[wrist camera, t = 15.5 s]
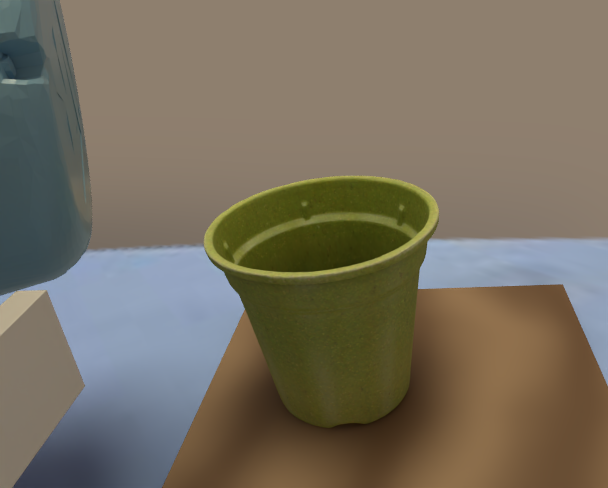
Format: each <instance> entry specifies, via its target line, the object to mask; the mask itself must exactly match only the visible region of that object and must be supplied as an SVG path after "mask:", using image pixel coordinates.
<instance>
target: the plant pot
mask: <svg viewBox="0 0 608 488" xmlns="http://www.w3.org/2000/svg"><path fill="white" fill-rule="evenodd" d="M438 220H439V209H438V206H437V203H436V201H435V200H434V198H433V197H432V196H431V195H430V194H428V193H427V192H426V191H425V190H423V189H421V188H419V187H417V186H415V185H413V184H410V183H406V182H403V181H400V180H396V179H390V178H382V177H373V176H334V177H325V178H318V179H310V180H304V181H300V182H295V183H292V184H288V185H284V186H280V187H276V188H273V189H269V190H267V191H263V192H261V193H258V194H255V195H253V196H251V197H249V198H248V199H246V200H243V201H240V202H239V203H237V204H235V205H233V206H232V207H230V208H229V209H228V210H227V211H225V212H223V213H222V214H220V215H219V216H218V217H217V218H216V219H215V220H214V221H213V222H212V224H211V225H210V227H209V228H208V229H207V231H206V233H205V237H204V248H205V251H206V253H207V255H208V257H209V259H210V260H211V262H212V263H213V264H214V265H215V266H216V267H218V268H219V269H220V270H222V271H224V273H225V276H226V278H227V280H228V281H229V283H230V285H231V286H232V288H233V289H234V290H235V291H236V292H237V293H238V294H239V296H240V298H241V301H242V303H243V305H244V308H245V310H246V313H247V315H248V318H249V320H250V323H251V325H252V328H253V330H254V333H255V335H256V338H257V340H258V343H259V345H260V348H261V350H262V352H263V355H264V357H265V360H266V363H267V365H268V368H269V370H270V373H271V376H272V378H273V381H274V383H275V386H276V388H277V390H278V393H279V395H280V398H281V400H282V402H283V404H284V405H285V407H286V408H287V409H288V410H289V412H290V413H292V414H293V415H294V416H295V417H297V418H298V419H300V420H302V421H304V422H306V423H309V424H312V425H315V426H319V427H325V428H332V427H334V426H337V425H340V424H347V423H361V424H368V423H371V422H373V421H376V420H378V419H380V418H382V417H384V416H385V415H387V414H388V413H390V412H391V411H392V410H393V409H394V408H395V407H396V406H397V405H398V404H399V403H400V402H401V401H402V399H403V398H404V396H405V395H406V393H407V390H408V388H409V383H410V371H411V359H412V347H413V335H414V324H415V314H416V303H417V291H418V280H419V270H420V267H421V265H422V263H423V261H424V258H425V255H426V249H427V241H428V240H429V239H430V238H431V236H432V235H433V233H434V231H435V230H436V227H437V224H438Z"/></svg>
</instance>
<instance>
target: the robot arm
mask: <svg viewBox="0 0 608 488" xmlns="http://www.w3.org/2000/svg"><path fill="white" fill-rule="evenodd" d="M91 231H92V197H91V186H90V176H89V168H88V159H87V152H86V144H85V137H84V130H83V123H82V117H81V111H80V104H79V98H78V92H77V86H76V81H75V75H74V69H73V64H72V59H71V53H70V48H69V43H68V38H67V33H66V28H65V24H64V19H63V14H62V9H61V5H60V1H59V0H0V296H1V295H4V294H7V293H11V292H14V291H16V292H15V293H14V294H13V295H11V296H10V297H9V298H8V299H7V300H6V301H5V302H4V303H3V304H2V305H1V306H0V488H12V487H13V486H14V484H15V483H16V482H17V480H18V479H19V478H20V476H21V475H22V473H23V472H24V471H25V469H26V468H27V466H28V465H29V464H30V462H31V461H32V459H33V458H34V457H35V455H36V454H37V452H38V451H39V450H40V448H41V447H42V445H43V444H44V443H45V441H46V440H47V438H48V437H49V436H50V434H51V433H52V431H53V430H54V429H55V427H56V426H57V424H58V423H59V422H60V420H61V419H62V417H63V416H64V415H65V413H66V412H67V410H68V409H69V408H70V406H71V405H72V404H73V402H74V401H75V399H76V398H77V397H78V395H79V394H80V392H81V391H82V390H83V388H84V387H85V385H84V382H83V380H82V377H81V375H80V372H79V370H78V367H77V365H76V362H75V360H74V357H73V355H72V352H71V350H70V347H69V345H68V342H67V340H66V337H65V335H64V332H63V330H62V327H61V325H60V322H59V320H58V317H57V315H56V312H55V310H54V307H53V305H52V302H51V300H50V297H49V295H48V292H47V290H38V291H17V290H21V289H24V288H27V287H31V286H34V285H37V284H41V283H44V282H47V281H51V280H54V279H56V278H58V277H60V276H62V275H63V274H65V273H66V272H67V270H69V269H70V268H71V267H73V266H74V265H75V264H76V263H77V262H78V261H79V259H80V258H81V256H82V255H83V254H84V252H85V251H86V249H87V247H88V244H89V241H90V237H91Z"/></svg>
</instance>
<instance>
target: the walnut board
mask: <svg viewBox="0 0 608 488" xmlns="http://www.w3.org/2000/svg"><path fill="white" fill-rule="evenodd" d="M162 488H608V386H607V384H606V381H605V379H604V377H603V374H602V372H601V370H600V368H599V365H598V363H597V361H596V359H595V356H594V354H593V352H592V350H591V347H590V345H589V343H588V341H587V338H586V336H585V334H584V332H583V329H582V327H581V325H580V323H579V320H578V318H577V316H576V314H575V311H574V309H573V307H572V304H571V302H570V300H569V298H568V295H567V293H566V291H565V289H564V286H563V284H562V285H532V286H502V287H472V288H442V289H418V291H417V303H416V314H415V324H414V335H413V347H412V359H411V371H410V383H409V388H408V390H407V393H406V395H405V396H404V398H403V399H402V401H401V402H400V403H399V404H398V405H397V406H396V407H395V408H394V409H393V410H392V411H391V412H390V413H388V414H387V415H385V416H384V417H382V418H380V419H378V420H376V421H373V422H371V423H368V424H361V423H347V424H340V425H337V426H334V427H332V428H325V427H319V426H315V425H312V424H309V423H306V422H304V421H302V420H300V419H298V418H297V417H295V416H294V415H293V414H292V413H290V412H289V410H288V409H287V408H286V407H285V405H284V404H283V402H282V400H281V398H280V395H279V393H278V390H277V388H276V386H275V383H274V381H273V378H272V376H271V373H270V370H269V368H268V365H267V363H266V360H265V357H264V355H263V352H262V350H261V348H260V345H259V343H258V340H257V338H256V335H255V333H254V330H253V328H252V325H251V323H250V320H249V318H248V315H247V313H246V310H245V311H244V313H243V315H242V317H241V319H240V321H239V323H238V326H237V328H236V330H235V332H234V334H233V336H232V338H231V341H230V343H229V345H228V347H227V349H226V351H225V354H224V356H223V358H222V360H221V362H220V364H219V366H218V369H217V371H216V373H215V375H214V377H213V379H212V381H211V384H210V386H209V388H208V390H207V392H206V394H205V397H204V399H203V401H202V403H201V405H200V407H199V409H198V412H197V414H196V416H195V418H194V420H193V422H192V424H191V427H190V429H189V431H188V433H187V435H186V437H185V440H184V442H183V444H182V446H181V448H180V450H179V452H178V455H177V457H176V459H175V461H174V463H173V465H172V467H171V470H170V472H169V474H168V476H167V478H166V480H165V483H164V485H163V487H162Z"/></svg>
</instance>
